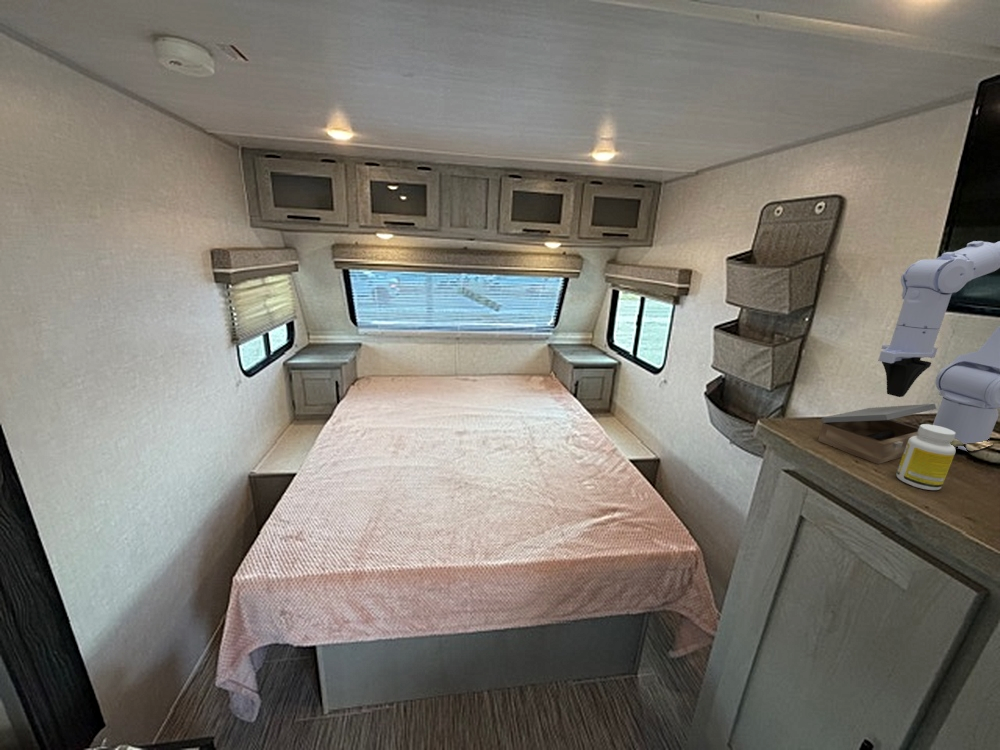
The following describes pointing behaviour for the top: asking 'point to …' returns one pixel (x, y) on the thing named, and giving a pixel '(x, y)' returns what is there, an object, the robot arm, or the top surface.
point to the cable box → (869, 438)
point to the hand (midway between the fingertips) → (895, 395)
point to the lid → (879, 413)
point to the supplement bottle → (927, 457)
